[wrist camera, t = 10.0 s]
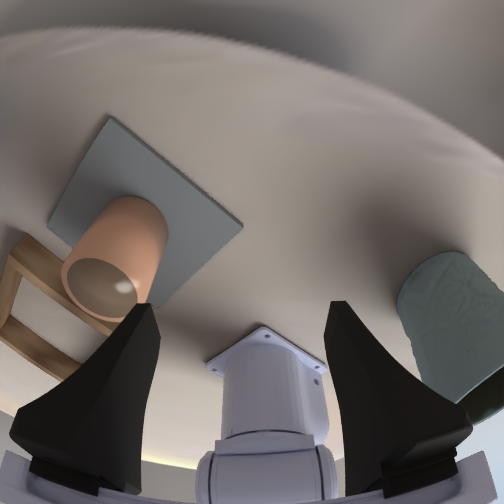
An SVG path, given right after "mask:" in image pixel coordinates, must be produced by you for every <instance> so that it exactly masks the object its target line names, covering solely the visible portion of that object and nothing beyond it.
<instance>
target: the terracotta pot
mask: <svg viewBox="0 0 504 504" xmlns="http://www.w3.org/2000/svg"><path fill="white" fill-rule="evenodd" d="M168 236H169V231H168V226H167V223H166V220H165V218H164V217H163V215H162V214H161V212H160V211H159V210H158V209H157V208H156V207H155V206H154V205H152V204H151V203H149V202H148V201H146V200H144V199H141V198H138V197H133V196H124V197H119V198H116V199H114V200H112V201H111V202H110V203H108V204H107V205H106V207H105V208H104V209H103V210H102V212H101V213H100V214H99V215H98V217H97V218H96V219H95V221H94V222H93V223H92V225H91V226H90V227H89V228H88V230H87V231H86V232H85V234H84V235H83V237H82V238H81V239H80V241H79V242H78V243H77V245H76V246H75V248H74V249H73V250H72V252H71V253H70V255H69V256H68V258H67V259H66V260H65V262H64V264H63V266H62V270H61V278H62V283H63V286H64V288H65V290H66V292H67V294H68V295H69V297H70V298H71V299H72V300H73V301H74V303H75V304H76V305H78V306H79V307H80V308H81V309H82V310H84V311H85V312H87V313H88V314H90V315H92V316H94V317H96V318H99V319H102V320H105V321H110V322H121V321H122V320H123V319H124V318H125V317H126V315H127V314H128V313H129V312H130V310H131V309H132V308H133V307H134V306H135V305H136V303H145V302H146V299H147V296H148V294H149V291H150V288H151V285H152V282H153V279H154V277H155V274H156V271H157V268H158V266H159V263H160V260H161V258H162V255H163V252H164V250H165V247H166V244H167V242H168Z"/></svg>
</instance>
